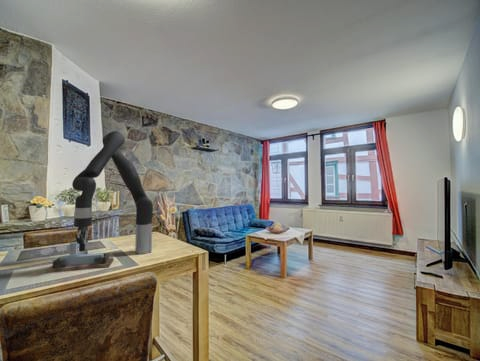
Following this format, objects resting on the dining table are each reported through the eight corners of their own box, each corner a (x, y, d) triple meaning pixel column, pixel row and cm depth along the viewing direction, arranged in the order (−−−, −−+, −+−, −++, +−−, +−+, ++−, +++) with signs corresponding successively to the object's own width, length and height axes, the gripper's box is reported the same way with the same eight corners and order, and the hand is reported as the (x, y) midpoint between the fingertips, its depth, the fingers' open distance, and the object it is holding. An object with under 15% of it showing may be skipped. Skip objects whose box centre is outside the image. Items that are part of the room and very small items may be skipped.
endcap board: (113, 260, 124) (113, 252, 124) (109, 267, 114) (109, 258, 114) (55, 265, 116) (56, 256, 116) (46, 273, 106) (46, 263, 106)
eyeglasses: (68, 250, 143) (68, 244, 143) (72, 254, 138) (73, 247, 138) (39, 256, 131) (39, 249, 131) (43, 260, 127) (43, 253, 127)
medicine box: (75, 259, 126) (76, 243, 126) (69, 258, 126) (69, 243, 127) (88, 255, 133) (88, 240, 133) (81, 254, 134) (81, 239, 134)
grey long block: (103, 260, 120) (103, 252, 120) (101, 262, 116) (101, 254, 116) (62, 264, 114) (62, 255, 114) (59, 266, 110) (59, 258, 111)
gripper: (87, 218, 110) (86, 254, 110) (95, 214, 123) (94, 247, 123) (69, 218, 108) (68, 255, 108) (79, 215, 121) (78, 248, 120)
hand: (82, 251), depth 115 cm, fingers closed
